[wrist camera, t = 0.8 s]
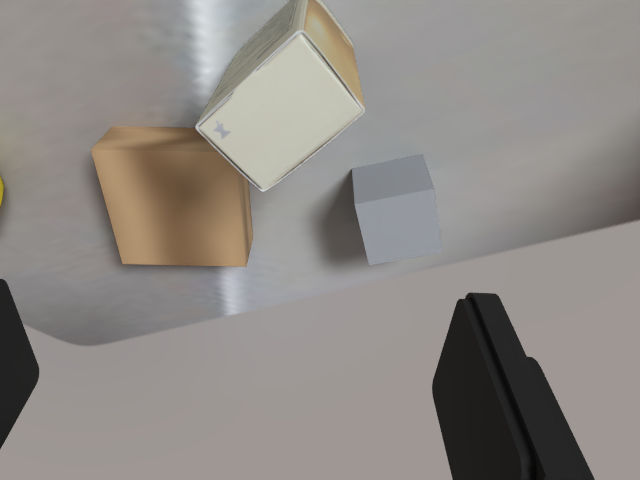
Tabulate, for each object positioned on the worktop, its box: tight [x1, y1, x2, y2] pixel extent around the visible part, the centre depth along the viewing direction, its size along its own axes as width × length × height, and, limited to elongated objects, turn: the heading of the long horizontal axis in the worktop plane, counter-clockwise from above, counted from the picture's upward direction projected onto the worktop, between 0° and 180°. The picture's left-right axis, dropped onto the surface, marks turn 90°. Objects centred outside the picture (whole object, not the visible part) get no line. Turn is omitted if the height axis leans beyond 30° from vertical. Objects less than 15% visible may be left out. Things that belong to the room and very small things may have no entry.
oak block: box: [91, 127, 253, 267], centre depth 35 cm, size 9×9×4 cm
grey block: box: [352, 154, 443, 265], centre depth 34 cm, size 5×5×5 cm
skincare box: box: [195, 0, 365, 192], centre depth 26 cm, size 6×4×12 cm
